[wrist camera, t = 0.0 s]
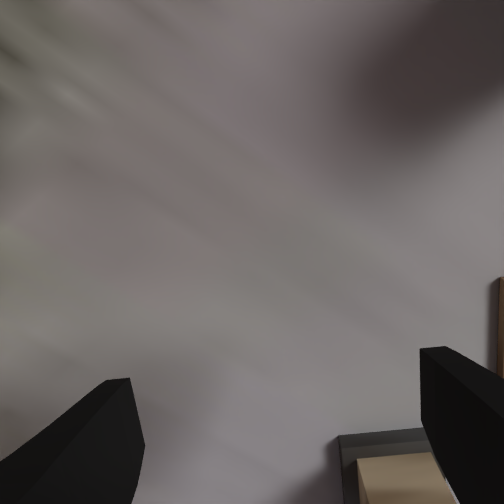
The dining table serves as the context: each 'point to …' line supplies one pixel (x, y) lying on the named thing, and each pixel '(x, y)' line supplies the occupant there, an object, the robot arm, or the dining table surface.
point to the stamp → (391, 469)
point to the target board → (501, 331)
